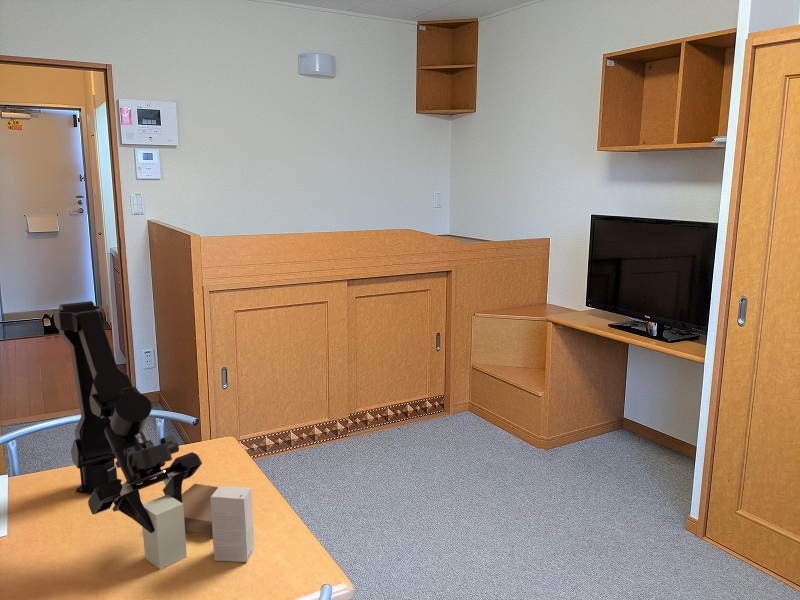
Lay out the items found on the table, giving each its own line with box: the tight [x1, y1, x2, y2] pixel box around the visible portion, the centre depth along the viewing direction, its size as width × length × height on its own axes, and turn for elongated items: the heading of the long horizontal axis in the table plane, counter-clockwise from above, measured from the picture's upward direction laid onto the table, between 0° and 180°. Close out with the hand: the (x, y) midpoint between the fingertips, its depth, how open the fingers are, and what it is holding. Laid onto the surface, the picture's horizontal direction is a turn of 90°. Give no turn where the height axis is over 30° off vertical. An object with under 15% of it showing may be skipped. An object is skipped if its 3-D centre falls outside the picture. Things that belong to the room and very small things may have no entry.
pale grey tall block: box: [142, 494, 188, 570], centre depth 113 cm, size 5×5×10 cm
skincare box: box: [210, 485, 255, 563], centre depth 114 cm, size 6×4×12 cm
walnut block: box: [182, 483, 219, 538], centre depth 127 cm, size 12×12×4 cm
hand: (167, 525), depth 112 cm, fingers closed on pale grey tall block, 5 cm apart
